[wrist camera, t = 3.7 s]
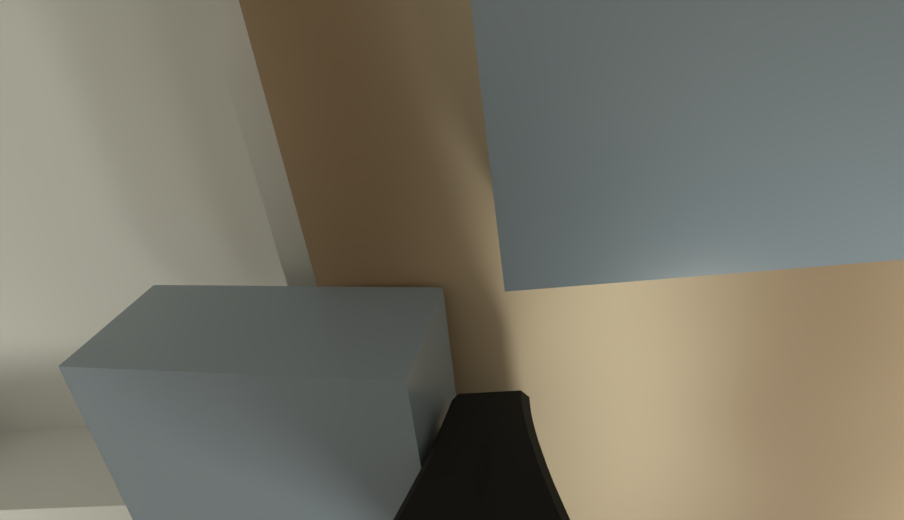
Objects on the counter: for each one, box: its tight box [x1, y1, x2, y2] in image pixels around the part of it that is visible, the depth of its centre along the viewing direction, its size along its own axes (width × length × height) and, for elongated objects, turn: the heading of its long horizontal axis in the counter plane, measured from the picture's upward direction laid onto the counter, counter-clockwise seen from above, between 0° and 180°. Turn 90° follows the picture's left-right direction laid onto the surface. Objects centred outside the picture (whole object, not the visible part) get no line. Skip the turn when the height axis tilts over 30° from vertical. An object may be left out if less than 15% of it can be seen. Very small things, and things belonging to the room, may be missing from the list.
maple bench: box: [239, 0, 904, 520], centre depth 10 cm, size 14×13×4 cm
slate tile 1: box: [470, 0, 904, 292], centre depth 6 cm, size 4×4×2 cm
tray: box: [0, 0, 317, 520], centre depth 12 cm, size 11×12×3 cm
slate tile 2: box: [58, 285, 456, 520], centre depth 9 cm, size 4×4×2 cm
